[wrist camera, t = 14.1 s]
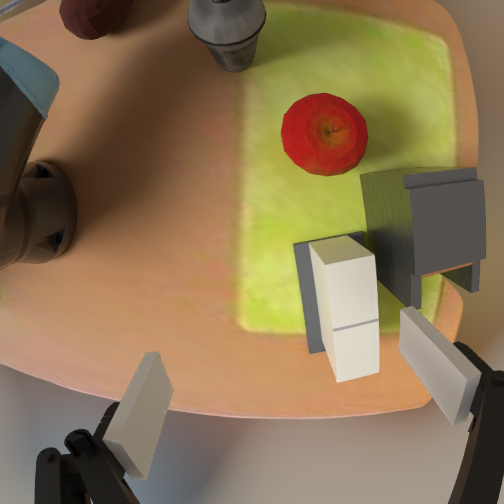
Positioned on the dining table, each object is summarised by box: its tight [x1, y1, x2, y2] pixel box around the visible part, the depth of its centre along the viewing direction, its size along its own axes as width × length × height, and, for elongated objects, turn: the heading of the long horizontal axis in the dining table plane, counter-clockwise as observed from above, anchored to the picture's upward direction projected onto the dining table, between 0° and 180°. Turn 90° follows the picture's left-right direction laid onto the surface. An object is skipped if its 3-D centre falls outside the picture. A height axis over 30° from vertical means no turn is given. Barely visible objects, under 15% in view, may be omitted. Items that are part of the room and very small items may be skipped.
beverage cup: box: [188, 0, 266, 72], centre depth 23 cm, size 7×7×20 cm
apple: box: [281, 93, 368, 176], centre depth 30 cm, size 9×8×12 cm
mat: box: [293, 232, 364, 354], centre depth 40 cm, size 9×16×1 cm, turn 11°
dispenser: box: [360, 167, 486, 310], centre depth 31 cm, size 9×13×13 cm
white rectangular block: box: [309, 235, 379, 383], centre depth 35 cm, size 5×14×10 cm, turn 11°
